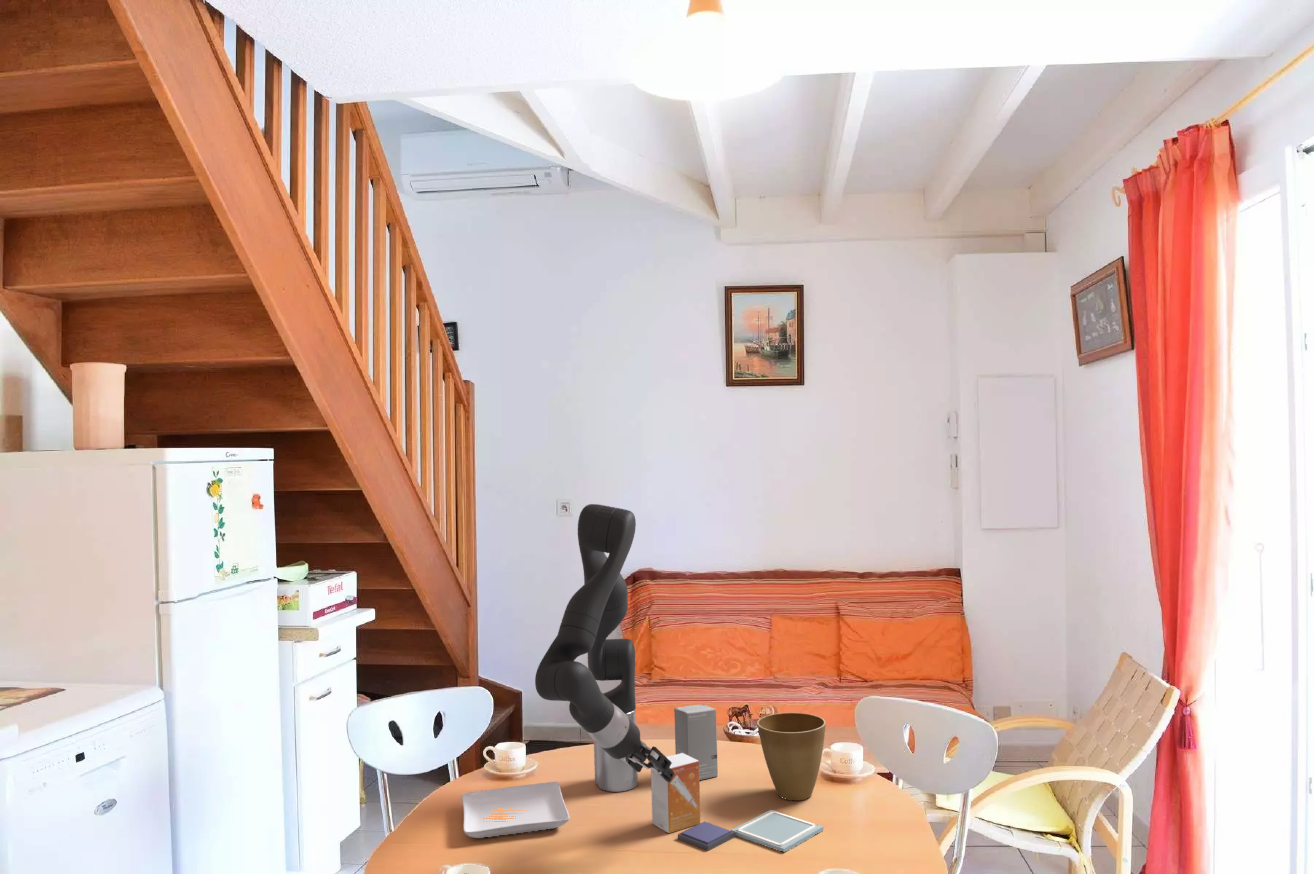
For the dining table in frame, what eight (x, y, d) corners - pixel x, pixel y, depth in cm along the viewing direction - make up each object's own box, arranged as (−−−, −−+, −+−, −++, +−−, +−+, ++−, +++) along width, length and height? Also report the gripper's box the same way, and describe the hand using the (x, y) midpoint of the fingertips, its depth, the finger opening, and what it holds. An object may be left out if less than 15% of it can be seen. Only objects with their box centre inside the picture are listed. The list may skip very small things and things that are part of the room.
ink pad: (677, 838, 177) (677, 832, 177) (704, 825, 183) (704, 819, 183) (708, 850, 172) (708, 844, 172) (735, 836, 177) (734, 830, 177)
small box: (668, 834, 179) (666, 768, 180) (651, 823, 185) (649, 760, 185) (701, 824, 184) (699, 760, 184) (683, 814, 189) (682, 751, 189)
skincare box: (688, 783, 206) (686, 714, 206) (673, 774, 212) (671, 706, 213) (720, 776, 210) (718, 708, 210) (704, 767, 216) (702, 701, 216)
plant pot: (820, 780, 206) (817, 710, 206) (834, 806, 191) (832, 730, 191) (755, 783, 205) (752, 712, 205) (764, 809, 190) (762, 733, 190)
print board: (730, 833, 179) (730, 828, 179) (770, 813, 188) (770, 808, 188) (784, 853, 170) (784, 847, 170) (823, 830, 179) (823, 825, 179)
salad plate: (464, 848, 177) (463, 830, 177) (462, 807, 197) (461, 791, 197) (571, 834, 182) (571, 817, 182) (558, 795, 202) (558, 780, 202)
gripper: (647, 719, 169) (690, 763, 177) (597, 705, 179) (639, 748, 187) (627, 754, 166) (672, 798, 174) (577, 739, 176) (622, 781, 184)
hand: (655, 772), depth 180 cm, fingers open, 8 cm apart
